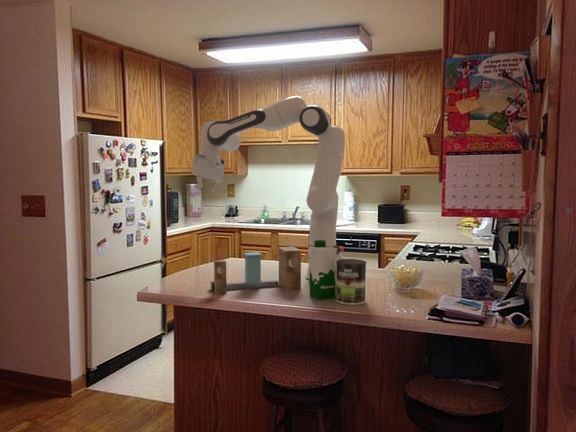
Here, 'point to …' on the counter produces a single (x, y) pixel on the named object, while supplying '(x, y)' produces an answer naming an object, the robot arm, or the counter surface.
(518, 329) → the counter surface
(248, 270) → the carriage
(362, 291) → the coffee can
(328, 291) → the milk carton
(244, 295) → the counter surface
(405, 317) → the counter surface
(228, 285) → the handrail
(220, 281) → the gauge post
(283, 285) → the gauge cabinet
